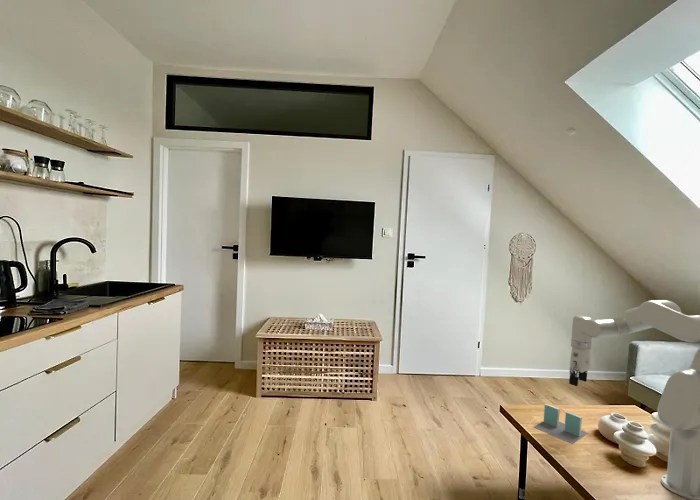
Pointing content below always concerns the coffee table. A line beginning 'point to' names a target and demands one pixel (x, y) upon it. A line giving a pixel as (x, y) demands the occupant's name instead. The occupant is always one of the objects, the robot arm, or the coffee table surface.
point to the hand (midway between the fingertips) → (577, 382)
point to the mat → (560, 432)
